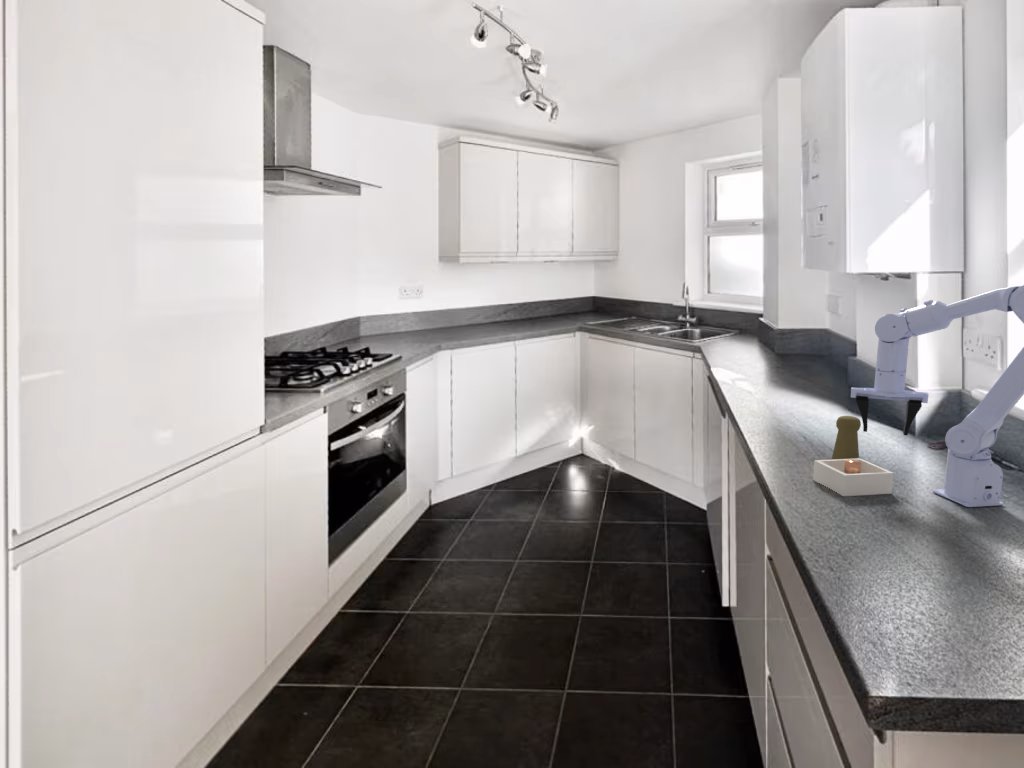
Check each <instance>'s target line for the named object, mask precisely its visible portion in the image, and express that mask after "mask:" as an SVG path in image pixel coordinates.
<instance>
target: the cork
mask: <svg viewBox="0 0 1024 768" xmlns="http://www.w3.org/2000/svg"><path fill="white" fill-rule="evenodd" d="M835 426H836V428H837V434H836V438H835V442H834V448H833V451H832V455H831V459H830V460H834V459H855V458H860V455H859V449H860V448H859V437H858V436H859V434H858V432H859V430H860V428H861V420H860V418H858V417H857V416H852V415H841V416H838V417H837V419H836V423H835Z"/></svg>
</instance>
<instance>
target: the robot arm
mask: <svg viewBox="0 0 1024 768" xmlns="http://www.w3.org/2000/svg"><path fill="white" fill-rule="evenodd" d="M993 310H997V311H1001V312H1005V313H1009V312H1013V313H1014V315H1015V316H1016V317H1017V318H1018V319H1019V320H1020V321H1021V323H1022V324H1024V284H1023V285H1017V286H1011V287H1010V286H1009V287H1004V288H997V289H994V290H990V291H987V292H984V293H980V294H978V295H975V296H971V297H968V298H966V299H965V298H964V299H961V300H960V301H956V302H952V303H950V304H947V303H945V302H942V301H940V300H937V301H934V300H933V299H930V300H925V301H924V302H923V305H919V306H916V307H912V308H909V309H908V308H906V307H905V308H901V309H899V312H898V313H886V314H885V315H882V316H881V317H880V318H878V320H877V321H876V323H875V325H874V331H875V332H874V333H875V335H876V336H877V338H878V343H877V352H876V363H875V374H874V376H875V377H874V384H873V387H851V388H850V398H854V399H855V402H856V405H857V407H858V410H859V413H860V415H861V420H862V424H863V425H862V426H863V433H864V432H868V414H869V405H870V402H869V400H870V399H874V400H875V399H876V400H891V401H900V402H901V401H902V402H906V407H905V409H906V410H905V420H904V425H903V431H902V432H903V436H908V434H909V431H910V428H911V425H912V423H913V421H914V420H915V418H916V416H917V414H918V413H919V411H920V410H921V408H922V407H923V404H928V403H929V395H930V394H929V393H928V392H924V391H923V392H922V391H915V390H905V386H906V378H907V377H906V376H907V375H906V374H907V366H908V357H909V342H910V338H912V337H918V336H921V335H925V334H926V335H927V334H930V333H933V332H937V331H941V330H945V329H947V328H948V327H949V326H950V324H951V323H952V322H953V320H955V319H960V318H964V317H968V316H972V315H973V316H974V315H977V314H980V313H985V312H986V313H987V312H989V311H993ZM1023 396H1024V346H1023V347H1022V348H1021V350H1020V351H1019V352H1018V354H1016V356H1015V357H1014V359H1013V360H1012V361H1011V362H1010V363H1009V365H1008V366H1007V368H1006V369H1005V370H1004V371H1003V373H1002V374H1001V375H1000V376H999V378H998V379H997V381H996V382H995V383H994V384H993V386H992V387H991V388H990V390H989V391H988V392H987V393H986V394H985V396H984V397H983V398H982V400H981V401H980V402H979V403H978V405H977V406H976V407H975V408H974V409H973V410H972V411H971V412H970V413H969V414H967V415H966V417H964V419H963V420H962V421H961V422H960V423H958V424H957V425H954V426H952V427H950V428H949V429H948V430H947V432H946V434H945V438H944V442H945V445H946V447H947V449H948V450H947V457H946V466H945V473H944V474H945V475H944V485H943V488H939V489H937V488H936V489H933V490H932V492H933V493H935V494H937V495H939V496H941V497H943V498H946V499H947V500H951V501H953V502H956V503H957V504H960V505H962V506H964V507H967V508H977V507H978V508H979V507H993V506H995V507H996V506H1003V505H1004V502H1003V501H1001V496H1002V487H1003V481H1004V473H1003V469H1002V468H1001V466H999V465H998V464H997V463H995V462H994V460H992V453H991V451H990V449H989V448H991V447H992V446H993V445H994V444H995V443H996V440H997V438H998V432H999V430H1000V428H1001V427H1002V426H1003V424H1004V420H1005V418H1006V417H1007V416H1008V414H1009V413H1010V412H1011V410H1013V408H1014V407H1015V406H1016V404H1017V403H1018V402H1019V401H1020V400H1021V398H1022V397H1023Z"/></svg>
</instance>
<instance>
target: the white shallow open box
mask: <svg viewBox="0 0 1024 768" xmlns="http://www.w3.org/2000/svg"><path fill="white" fill-rule="evenodd" d="M845 460H847V459H834V460H831V459H818V460H817V459H815V460H814V461H813V474H812V475H813V477H812V481H814V482H816V483H818V484H819V483H820V485H821V484H822V485H821V486H823V485H824V487H825V486H826V488H827V487H828V488H827V489H829V488H830V489H829V490H831V489H832V490H833V492H834V491H835V492H834V493H836V492H837V494H838V495H840V496H842V497H853V496H854V497H855V496H871V495H873V496H874V495H890V494H892V493H893V485H894V484H893V482H894V472H892V471H890V470H888V469H886V468H883V467H881V466H878V465H877V464H874V463H872V462H869V461H867V460H865V459H862V458H861V457H859V458H855V459H853V460H859V461H861V462H862V465H861V473H857V474H847V473H845V472H844V465H845ZM832 490H831V491H832Z"/></svg>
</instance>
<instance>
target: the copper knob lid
mask: <svg viewBox="0 0 1024 768" xmlns="http://www.w3.org/2000/svg"><path fill="white" fill-rule="evenodd" d="M861 465H862V462H861V461H859V460H853V459H847V460H845V465H844V472H845V473H847V474H857V473H861Z"/></svg>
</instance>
